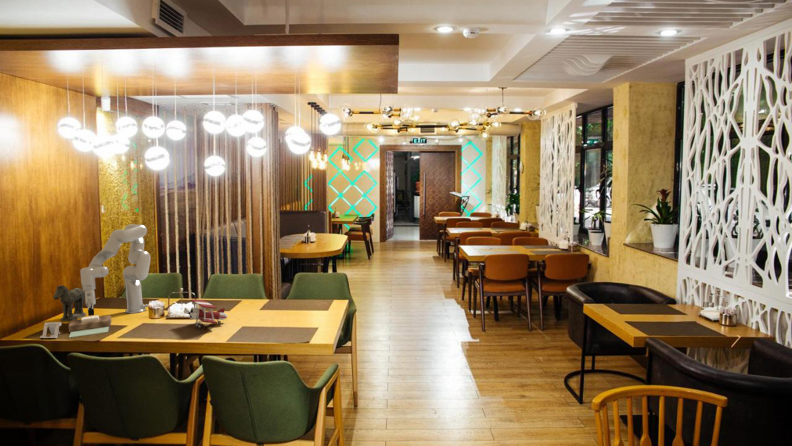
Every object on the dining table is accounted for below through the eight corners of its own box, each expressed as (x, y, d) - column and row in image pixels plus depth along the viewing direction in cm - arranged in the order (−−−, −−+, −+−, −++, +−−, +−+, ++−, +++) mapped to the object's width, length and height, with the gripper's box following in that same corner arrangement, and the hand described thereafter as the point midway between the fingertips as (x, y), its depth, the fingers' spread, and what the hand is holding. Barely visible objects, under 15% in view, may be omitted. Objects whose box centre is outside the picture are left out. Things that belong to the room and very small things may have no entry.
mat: (108, 327, 324) (108, 326, 324) (107, 332, 314) (107, 331, 314) (71, 332, 315) (70, 331, 315) (68, 337, 305) (68, 337, 305)
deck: (111, 321, 338) (110, 315, 337) (110, 326, 325) (110, 320, 325) (71, 326, 328) (70, 320, 327) (69, 332, 315) (68, 326, 315)
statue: (60, 325, 331) (57, 287, 329) (46, 325, 333) (42, 286, 331) (90, 315, 356) (87, 278, 353) (77, 314, 358) (73, 278, 355)
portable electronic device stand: (40, 339, 303) (39, 325, 303) (48, 335, 311) (47, 321, 310) (55, 339, 304) (54, 325, 303) (63, 334, 311) (62, 321, 311)
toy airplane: (231, 334, 315) (236, 309, 316) (192, 331, 302) (197, 305, 303) (217, 325, 337) (221, 302, 338) (180, 322, 323) (185, 298, 325)
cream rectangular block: (99, 318, 331) (98, 315, 331) (98, 320, 325) (98, 317, 325) (82, 320, 327) (82, 317, 327) (81, 322, 321) (81, 319, 321)
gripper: (94, 288, 328) (97, 317, 330) (96, 284, 341) (98, 311, 343) (80, 290, 325) (83, 318, 326) (82, 285, 338) (85, 313, 340)
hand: (91, 315), depth 335 cm, fingers closed
